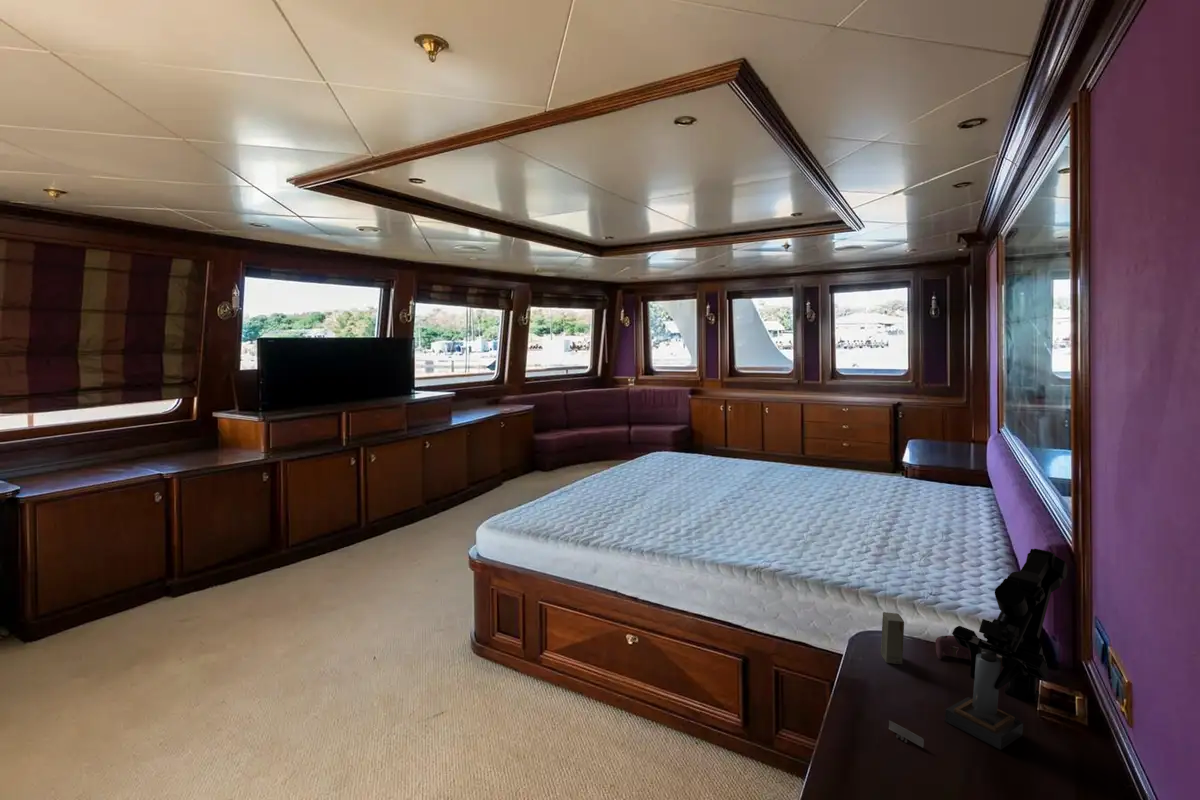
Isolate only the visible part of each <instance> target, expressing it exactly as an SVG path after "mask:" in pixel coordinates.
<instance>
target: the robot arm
mask: <svg viewBox="0 0 1200 800" xmlns="http://www.w3.org/2000/svg"><path fill="white" fill-rule="evenodd" d="M1067 574H1068V565H1067V563H1066V561H1065V560H1063V559H1061V557H1060V558H1059V557H1058V556H1057V555H1056V554H1055V553H1054V552H1052V551H1048V550H1045V549H1039V548H1030V551H1029V552H1028V553H1027V555H1026V560H1025V563H1024V565H1022V567H1021V569H1020V571H1018V570H1017V571H1012V572H1011V573H1009V575H1008V576H1007V578H1004V579H1003V580H1002V582H1001V583H1000V584H999V585H998V586H997V587H996V588H994V589H995V590H994V596H995V600H996V602H997V605H998V609H999V611H1000V612H999V615H998V616H997V618H994V619H992V621H990V620H988V619H984V618H982V619H981V623H980V626H979V631H978V632H979V633H981V634H983V635H982V636H983V638H984V639H986V640H984V639H982V638H979V636H978V635H977V634H976V632H975V631H974V630H972V629H969V628H968V627H964V626H963V625H958V626H956V627H954V629H953V631H952V633H951V635H952V636H954V637H955V639H956V640H957V642H958V644H960V645H961V646H963V647H965V648H968V649H969V650H970V651H971V661H970V678H971V679H972V680H974V677H975V664H976V655H977V654H981V650H982V649H988V650H991V651H994V652H995V653H996V654H997V655H998V656H999V657H1000V656H1001V666H1002V667H1003V668H1002V670H1001V671H1000V675H999V677H998V679H997V681H996V684H995V686H994V687H995V689H997V690H998V689H999V690H1000V689H1001V688H1002V687H1004V686H1005V685H1006V687H1005V690H1004V694H1007V695H1010V696H1012V697H1016V698H1019V699H1022V700H1025V701H1027V702H1031V703H1033V704H1034V703H1035V704H1036V703H1037V700H1038V697H1039V695H1040V691H1039V690H1038V689H1037V683H1038V679H1039V680H1046V679H1047V678H1048V675H1049V672H1050V671H1049V667H1048V665H1047V664H1048V663H1047V661H1046V658H1045V657H1046V656H1045V655H1044V649H1043V646H1042V643H1041V641H1040V638H1041V637H1040V636H1041V633H1042V628H1043V625H1044V622H1045V618H1046V613H1047V611H1048V610H1047V609H1048V606H1049V602H1050V599H1051V595H1052V593H1053V592H1055V591H1056V590H1058V589H1060V588H1061V587H1062V583H1063V580H1066V579H1067V576H1068V575H1067Z"/></svg>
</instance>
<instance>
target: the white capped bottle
mask: <svg viewBox="0 0 1200 800" xmlns="http://www.w3.org/2000/svg"><path fill="white" fill-rule="evenodd" d="M997 655H998V654H996V653H995V652H994V651H991V650H988V649H982V650H981V654H977V655H976V664H975V677H974V679H973V691H972V693H973V694H972V699H973V704H972V706H973V708H974V709H975V710H977V711H978V712H980V713H983V714H987V715H995V714H997V709H998V704H999V692H1000V688H999V689H998V690H997V689H995V687H994V686H995V684H996V681H997V679H998V677H999V675H1000V674H1001V666H1002V660H1001V658H999V657H998V656H997Z"/></svg>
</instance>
